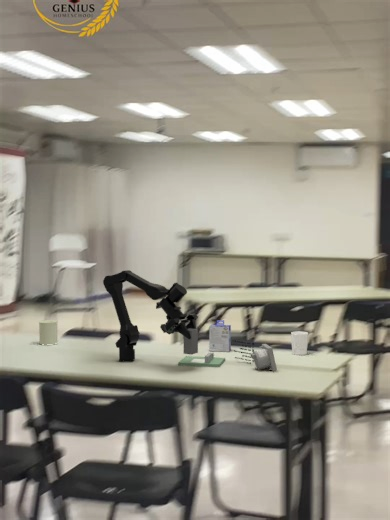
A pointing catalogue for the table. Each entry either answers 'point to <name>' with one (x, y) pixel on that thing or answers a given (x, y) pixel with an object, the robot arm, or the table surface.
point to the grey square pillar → (191, 342)
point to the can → (48, 332)
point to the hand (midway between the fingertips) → (193, 337)
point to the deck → (202, 361)
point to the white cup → (299, 342)
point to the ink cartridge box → (220, 337)
